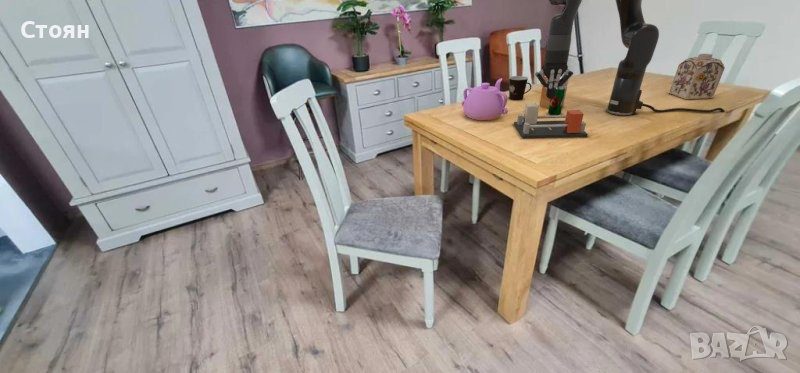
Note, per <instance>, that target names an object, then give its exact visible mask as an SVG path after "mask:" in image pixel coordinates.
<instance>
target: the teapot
mask: <svg viewBox="0 0 800 373" xmlns="http://www.w3.org/2000/svg"><path fill="white" fill-rule="evenodd" d="M502 82H503V77H501V78H498V80H496V83H495V84H494V86H493V85H492V86H491V85H490V82H481V83H480V85H479V86H474V87H471V86H469V87H466V88H465V89H464V90H463V92H462V93H463V94H462V95H463V101H462V102H461V106H462V111H463V113H464V114H465V115H466V116H467V117H468V118H470V119H473V120H478V121H489V120H495V119H496V120H497V119H498V118H500V117H501V116H502V115H503V116H505V115H507V114H508V112H509V110H508V108H507V107H506V105H507V102H508V99H509V96H508V94H507V92H504V91H501V83H502ZM468 91H469V92H468Z"/></svg>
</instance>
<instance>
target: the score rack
mask: <svg viewBox="0 0 800 373" xmlns="http://www.w3.org/2000/svg"><path fill="white" fill-rule="evenodd" d="M525 118H526V116H524V114H521V113H519V114H517V118H516V121H514V122H513V126H514V128H515V129H516V130H517V132H518V134H519V135H520V137H521V138H522V139H564V138H565V139H567V138H568V139H569V138H588V133H587V132H586V127H587V126H586V125H587V123H586V122H585V121H583V120H582V124H581V128H580V133H567V130H564V127H568V124H565V118H566V114H560V115H553V116H552V115H538V116H537V123H536V124H529V123H525V122H523V119H525ZM538 119H539V120H538ZM540 119H564V120H540Z"/></svg>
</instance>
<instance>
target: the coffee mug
mask: <svg viewBox="0 0 800 373" xmlns="http://www.w3.org/2000/svg"><path fill="white" fill-rule="evenodd" d="M528 79H529V77H527V76H524V75H513V76H512V75H511V76H509V77H508V99H509V100H510V101H513V102H515V101H517V102H518V101H522V100H524V96H525V94H527V93H529V92H530V91H531V90H532V83H530V82H528V81H529V80H528ZM527 85H529V89H528V90H526V88H527Z"/></svg>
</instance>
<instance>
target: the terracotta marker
mask: <svg viewBox="0 0 800 373" xmlns="http://www.w3.org/2000/svg"><path fill="white" fill-rule="evenodd" d="M565 115H566V118H564V120H565V124H568V127H564V130H567V133H580V128H581V124H582V121H583V119H584V115H585V114H584V113H583V112H582V111H581V110H580V109H567V110H566V113H565Z"/></svg>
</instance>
